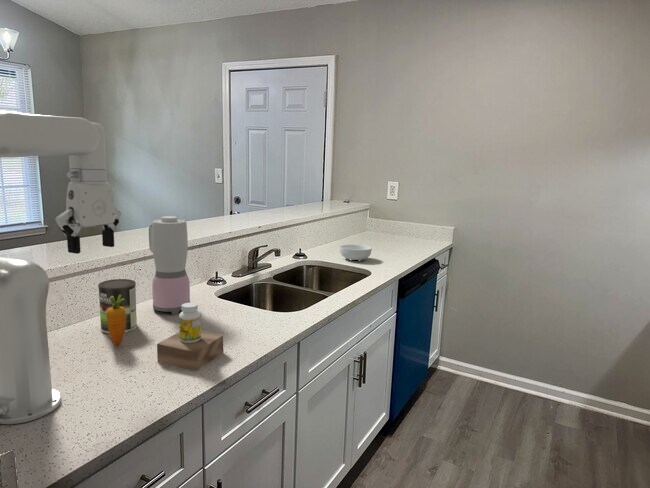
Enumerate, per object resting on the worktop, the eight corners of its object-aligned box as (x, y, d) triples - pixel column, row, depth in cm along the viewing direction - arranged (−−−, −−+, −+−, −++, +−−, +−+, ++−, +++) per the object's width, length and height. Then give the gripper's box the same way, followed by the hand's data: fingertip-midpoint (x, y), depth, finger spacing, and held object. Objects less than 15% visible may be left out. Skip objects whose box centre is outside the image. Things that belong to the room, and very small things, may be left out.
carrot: (122, 341, 128) (119, 290, 125) (130, 346, 125) (128, 294, 122) (104, 346, 124) (101, 294, 122) (113, 352, 121) (110, 298, 119)
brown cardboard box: (196, 370, 113) (196, 352, 112) (157, 362, 117) (156, 343, 116) (223, 352, 124) (223, 335, 123) (186, 344, 128) (186, 328, 127)
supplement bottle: (205, 339, 120) (204, 304, 118) (188, 345, 116) (187, 309, 114) (192, 334, 123) (191, 300, 121) (175, 339, 119) (174, 305, 117)
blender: (198, 307, 159) (196, 217, 153) (171, 317, 148) (168, 221, 142) (165, 299, 166) (163, 212, 160) (138, 308, 155) (134, 216, 149)
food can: (117, 336, 132) (114, 290, 129) (92, 329, 136) (90, 284, 133) (145, 325, 141) (143, 281, 138) (121, 319, 145) (119, 277, 142)
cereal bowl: (374, 258, 247) (375, 246, 246) (364, 264, 232) (365, 251, 231) (346, 255, 254) (346, 242, 253) (334, 260, 239) (335, 247, 238)
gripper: (67, 178, 95) (71, 257, 98) (129, 177, 111) (131, 245, 114) (42, 176, 98) (47, 253, 101) (106, 175, 114) (109, 242, 117)
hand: (92, 249), depth 108 cm, fingers open, 9 cm apart
